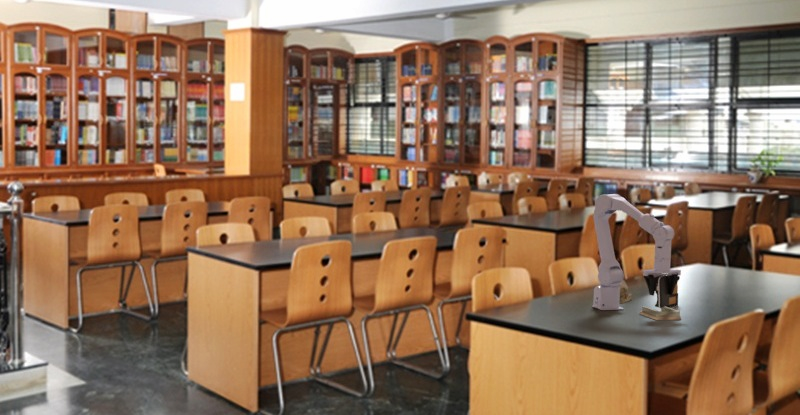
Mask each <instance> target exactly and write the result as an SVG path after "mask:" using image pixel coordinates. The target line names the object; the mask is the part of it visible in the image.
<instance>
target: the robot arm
mask: <svg viewBox="0 0 800 415" xmlns="http://www.w3.org/2000/svg"><path fill="white" fill-rule="evenodd" d="M617 211H621V212H623V213H625V215H628V216H630V217H631V218H632V219H634V220H635V221H637V222H638V226H639V227H641V229H643V230H644V231H645V232H647V233H649V235H651V236H652V238H653V239H654V263H653V269H642V275H643V278H644V280H645V283H646V285H647V289H648V293H649V295H650V296H652V297H653V296H655V291H654V290H655V282H656V279H657V278H655V277H656V276H659V275H666V276H668V277H669V295H672V294H673V291H674V288H675V286H676V284H677V285H678V282H679V281H680V276H681V274H682V272H681V271H682V270H681V269H674V268H673V269H671V261H672V260H671V258H672V240H673V239H674V237H675V230H674V228H673V227H672V226H671V225H669V224H665V223H664V222H663V221H660V220H658V219H657V218H655V215H654V214H653V213H643V212H642V211H640V210H639V209H638V208H637V207H635V206H634V205H633V204H632V203H630V202H629V201H628V200H626V197H625V198H624V197H623V196H621V195H620V194H618V193H612V194H605V193H604V194H601V195H598V196H597V198H596V199H595V201H594V211H593V216H592V219H593V223H594V224H593V225H594V229H595V230H594V231H595V235H596V240H597V247H598V252H599V256H600V263H599V265H598V267H597V268H598V269H597V270H598V273H597V280H598V282H599V283H600V285H596V286H595V287H594V288H593V300H592V304H593V305H592V307H593V308H595V309H598V310H600V311H614V310H615V311H617V310H620V311H621V310H624V307H622V306H620V303H619V299H620V283H621V282H622V280H624V278H625V274H624V271H623V270H622V268H621V264H620V263H619V262H618V260H617V259H616V255H615V251H614V250H615V249H614V244H613V238H612V235H611V229H610V223H609V219H610V218H611V216H612V215H613V214H614V213H616V212H617Z"/></svg>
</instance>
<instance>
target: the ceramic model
mask: <svg viewBox="0 0 800 415" xmlns="http://www.w3.org/2000/svg"><path fill="white" fill-rule="evenodd" d="M629 289H630V288H629V285H628V284H627V283H626V281H625V280H624V279H623V280H622V282H621V283H620V299H619V304H622V303H624V304H625V303H628V302H630V301H632V298H633V294H632V293H631V292H628V291H629Z"/></svg>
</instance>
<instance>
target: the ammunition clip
mask: <svg viewBox="0 0 800 415" xmlns="http://www.w3.org/2000/svg"><path fill="white" fill-rule="evenodd" d="M678 287H679V286H678V283H677V284H676V286H675V288H674V291H673V294H672V295H669V305H667V306H666V307H669V308H673V307H679V306H678V305H679V293H678V290H679V289H678Z"/></svg>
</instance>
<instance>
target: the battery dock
mask: <svg viewBox="0 0 800 415" xmlns="http://www.w3.org/2000/svg"><path fill="white" fill-rule="evenodd" d="M641 308H642V309H641V311H639V313H638V314H639V315H642V316H643V317H646V318H650V319H653V320H655V321H667V320H668V321H670V320H671V321H672V320H674V321H675V320H682V316H681V312H680V310H679V309H678V310H677V309H674V308H673V307H670V308H669V307H666V306H665V307H662V308H660V310H656V309H653V308H651V307H648V306H642V307H641Z"/></svg>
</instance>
